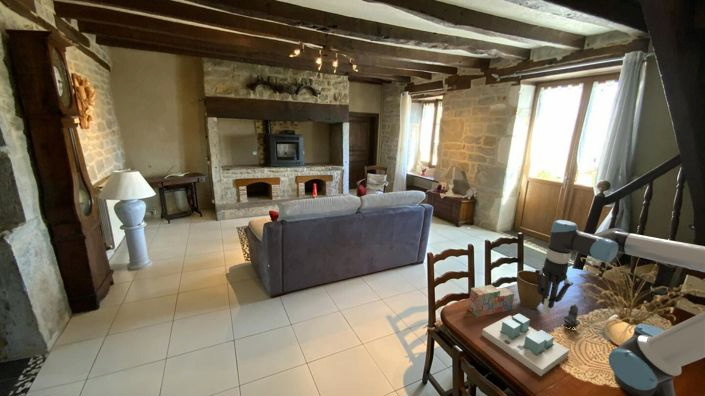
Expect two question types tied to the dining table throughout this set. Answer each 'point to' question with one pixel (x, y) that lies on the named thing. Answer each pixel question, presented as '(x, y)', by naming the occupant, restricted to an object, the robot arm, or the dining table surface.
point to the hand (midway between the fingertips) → (545, 312)
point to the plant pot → (528, 289)
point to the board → (522, 354)
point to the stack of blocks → (490, 300)
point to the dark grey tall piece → (571, 317)
